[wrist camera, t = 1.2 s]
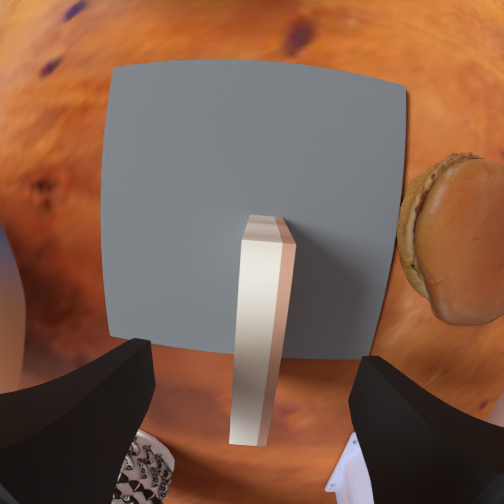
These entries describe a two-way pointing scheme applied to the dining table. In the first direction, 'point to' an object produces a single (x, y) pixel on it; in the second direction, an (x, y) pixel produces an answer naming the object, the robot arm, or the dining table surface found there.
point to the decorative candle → (144, 472)
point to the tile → (260, 326)
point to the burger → (456, 238)
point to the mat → (249, 198)
